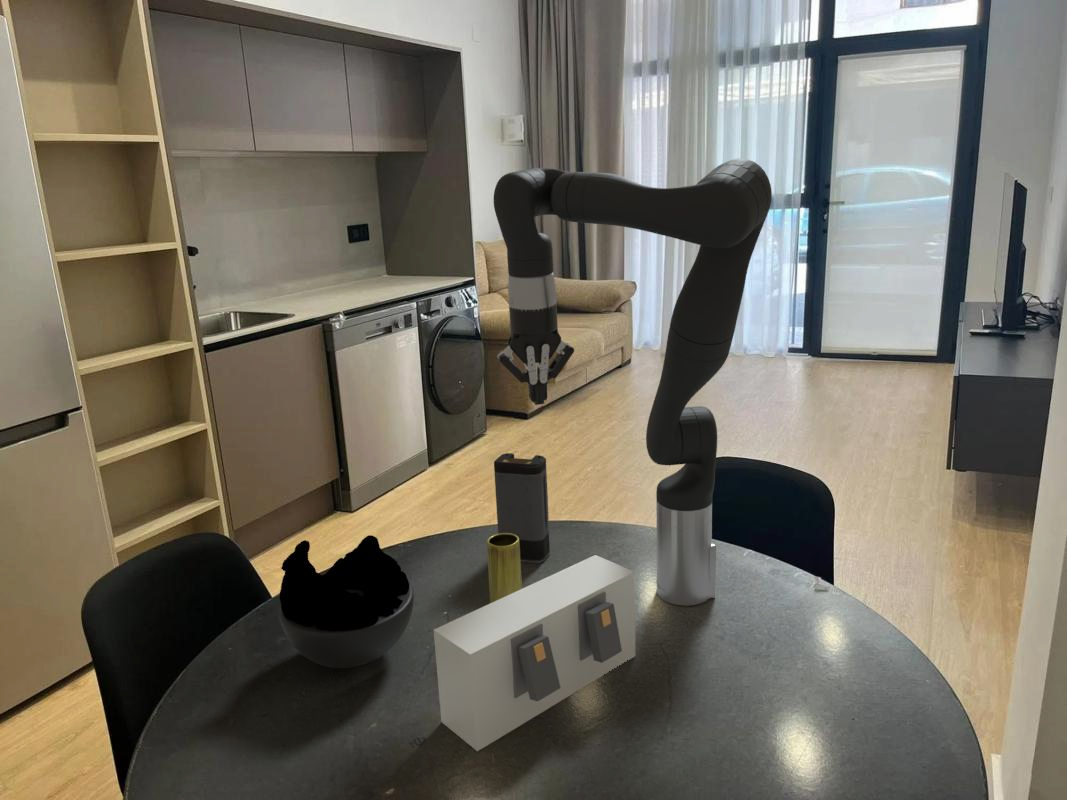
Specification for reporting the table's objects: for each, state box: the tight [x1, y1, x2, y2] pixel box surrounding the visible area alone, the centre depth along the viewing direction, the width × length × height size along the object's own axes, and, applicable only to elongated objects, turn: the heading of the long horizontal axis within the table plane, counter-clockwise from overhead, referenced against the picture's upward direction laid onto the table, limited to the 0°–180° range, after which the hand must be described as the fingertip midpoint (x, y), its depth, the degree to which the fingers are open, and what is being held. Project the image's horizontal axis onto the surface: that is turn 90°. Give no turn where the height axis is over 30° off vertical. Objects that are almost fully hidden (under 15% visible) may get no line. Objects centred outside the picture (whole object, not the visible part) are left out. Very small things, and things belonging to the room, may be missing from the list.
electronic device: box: [493, 452, 551, 564], centre depth 151 cm, size 9×6×20 cm, turn 71°
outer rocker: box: [517, 635, 561, 701], centre depth 102 cm, size 2×4×7 cm, turn 131°
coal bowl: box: [278, 534, 415, 669], centre depth 120 cm, size 20×20×19 cm
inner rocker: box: [585, 602, 622, 663], centre depth 109 cm, size 2×4×7 cm, turn 131°
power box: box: [433, 554, 636, 752], centre depth 111 cm, size 8×30×14 cm, turn 131°
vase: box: [486, 533, 523, 604], centre depth 130 cm, size 6×6×14 cm
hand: (538, 402), depth 130 cm, fingers closed
